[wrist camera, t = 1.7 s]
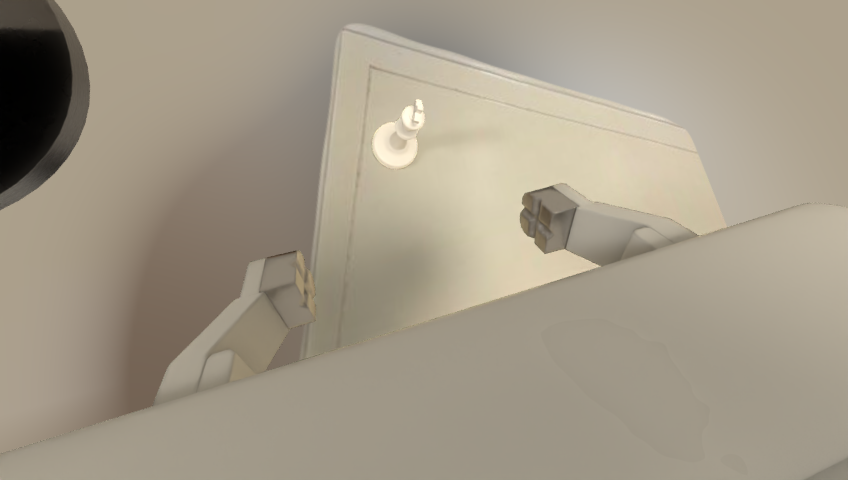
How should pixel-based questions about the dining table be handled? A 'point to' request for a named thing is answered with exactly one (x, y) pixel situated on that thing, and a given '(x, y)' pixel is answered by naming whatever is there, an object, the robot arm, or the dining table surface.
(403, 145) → the chess piece
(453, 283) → the dining table surface
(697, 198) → the dining table surface
